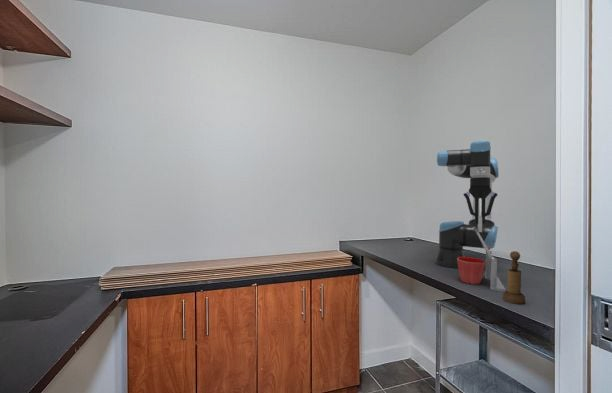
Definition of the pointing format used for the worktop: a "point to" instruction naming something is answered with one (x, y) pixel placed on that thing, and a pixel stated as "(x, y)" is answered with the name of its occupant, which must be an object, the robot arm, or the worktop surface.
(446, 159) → the robot arm
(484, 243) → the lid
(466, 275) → the flower pot
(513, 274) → the brown tall piece
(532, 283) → the worktop surface
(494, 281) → the hinge bracket
